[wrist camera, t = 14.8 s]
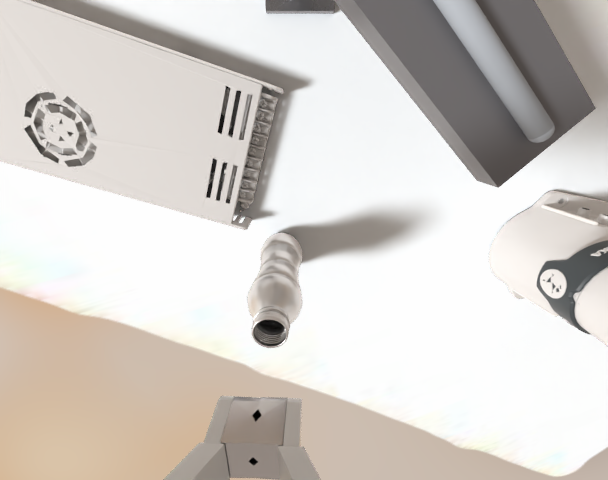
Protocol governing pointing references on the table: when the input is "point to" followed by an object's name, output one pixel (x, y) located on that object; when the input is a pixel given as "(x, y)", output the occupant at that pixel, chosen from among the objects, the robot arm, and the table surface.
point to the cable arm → (478, 75)
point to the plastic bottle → (276, 290)
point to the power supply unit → (127, 114)
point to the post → (300, 6)
